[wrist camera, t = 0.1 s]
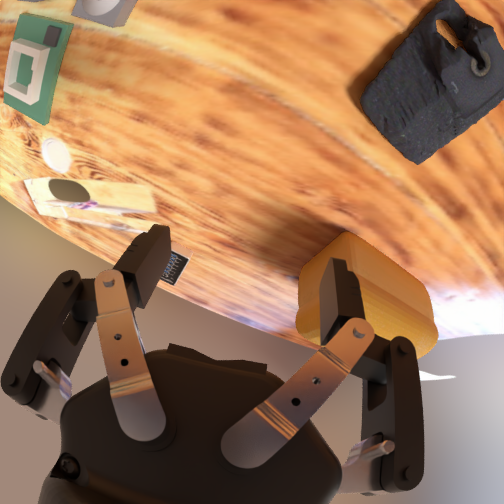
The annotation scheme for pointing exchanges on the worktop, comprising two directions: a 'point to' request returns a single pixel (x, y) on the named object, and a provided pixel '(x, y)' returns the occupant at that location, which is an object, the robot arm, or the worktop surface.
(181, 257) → the multiport hub
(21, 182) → the worktop surface
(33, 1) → the keyed plug
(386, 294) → the bread
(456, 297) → the worktop surface
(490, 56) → the dark slate chunk
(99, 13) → the grey square domed block
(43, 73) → the circuit board
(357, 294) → the robot arm
